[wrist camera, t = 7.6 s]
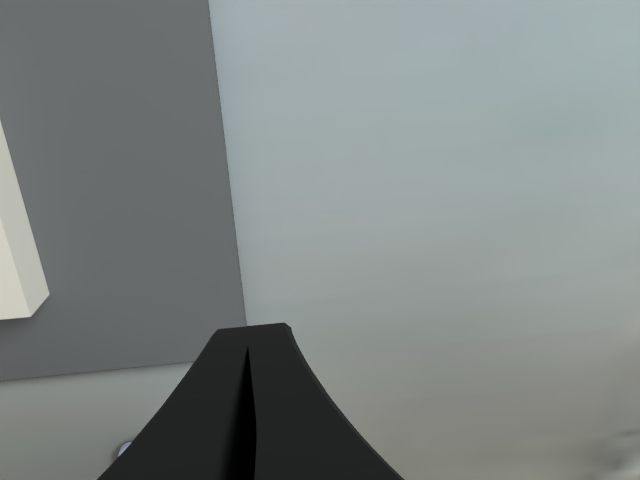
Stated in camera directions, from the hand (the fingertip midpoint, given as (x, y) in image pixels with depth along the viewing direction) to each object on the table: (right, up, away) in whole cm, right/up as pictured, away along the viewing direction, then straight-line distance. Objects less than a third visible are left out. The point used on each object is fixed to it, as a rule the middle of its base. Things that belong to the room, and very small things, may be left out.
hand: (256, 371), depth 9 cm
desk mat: (-9, +5, +8) cm, 13 cm away
